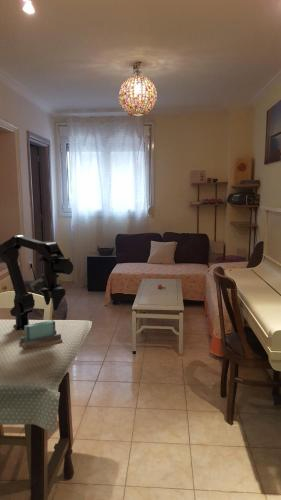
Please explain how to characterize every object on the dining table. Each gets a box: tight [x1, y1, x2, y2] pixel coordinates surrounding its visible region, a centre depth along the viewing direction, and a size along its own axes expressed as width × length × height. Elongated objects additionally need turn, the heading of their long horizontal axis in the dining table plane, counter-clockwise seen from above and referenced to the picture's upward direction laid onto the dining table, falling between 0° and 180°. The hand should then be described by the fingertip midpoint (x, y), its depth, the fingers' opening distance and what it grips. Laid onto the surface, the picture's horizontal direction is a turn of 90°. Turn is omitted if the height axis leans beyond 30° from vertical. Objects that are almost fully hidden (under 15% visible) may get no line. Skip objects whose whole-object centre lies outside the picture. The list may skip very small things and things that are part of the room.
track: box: [18, 329, 64, 351], centre depth 151 cm, size 9×15×3 cm, turn 124°
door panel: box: [24, 319, 57, 341], centre depth 150 cm, size 12×2×7 cm, turn 124°
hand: (51, 307), depth 158 cm, fingers open, 9 cm apart
